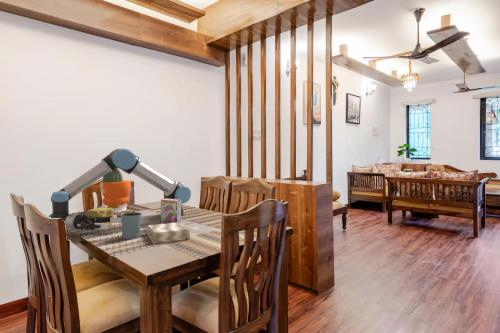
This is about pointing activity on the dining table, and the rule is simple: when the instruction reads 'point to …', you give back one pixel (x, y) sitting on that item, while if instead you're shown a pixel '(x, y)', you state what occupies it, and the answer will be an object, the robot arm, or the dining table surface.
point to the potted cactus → (115, 191)
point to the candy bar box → (170, 211)
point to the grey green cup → (131, 225)
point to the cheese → (100, 213)
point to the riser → (167, 232)
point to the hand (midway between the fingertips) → (114, 223)
